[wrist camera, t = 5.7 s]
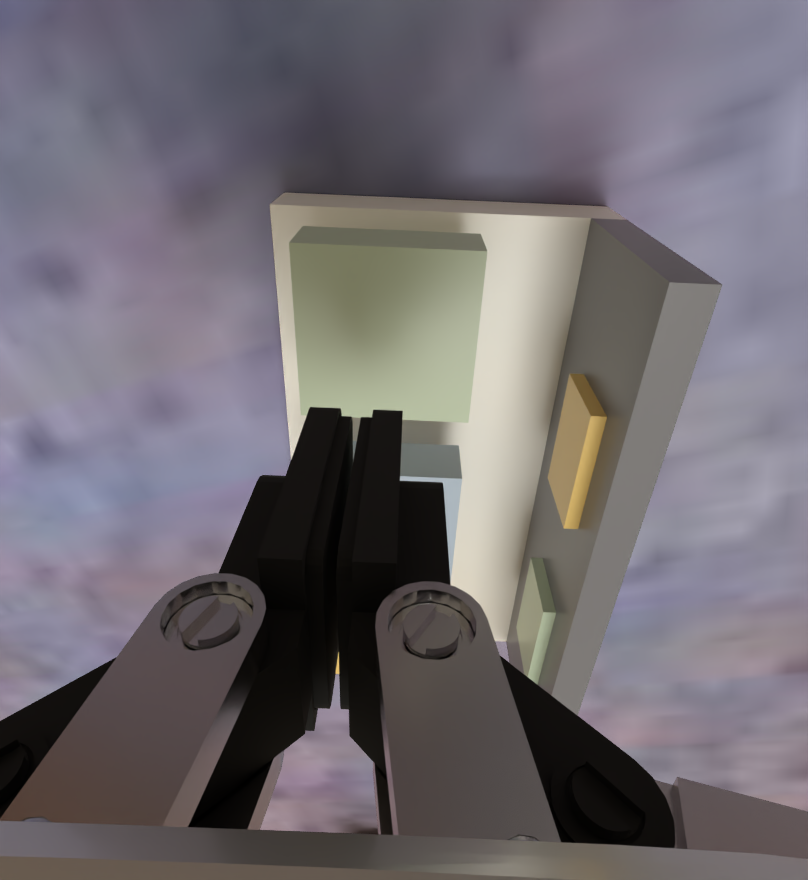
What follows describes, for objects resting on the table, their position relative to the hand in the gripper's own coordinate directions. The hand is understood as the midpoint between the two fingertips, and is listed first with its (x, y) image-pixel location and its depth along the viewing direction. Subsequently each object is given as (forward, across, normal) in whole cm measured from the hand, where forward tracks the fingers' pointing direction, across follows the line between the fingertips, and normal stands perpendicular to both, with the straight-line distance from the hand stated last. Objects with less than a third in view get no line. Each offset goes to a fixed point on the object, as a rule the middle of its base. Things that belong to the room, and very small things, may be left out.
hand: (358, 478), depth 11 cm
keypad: (+10, -2, +6) cm, 12 cm away
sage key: (+7, 0, -1) cm, 7 cm away
